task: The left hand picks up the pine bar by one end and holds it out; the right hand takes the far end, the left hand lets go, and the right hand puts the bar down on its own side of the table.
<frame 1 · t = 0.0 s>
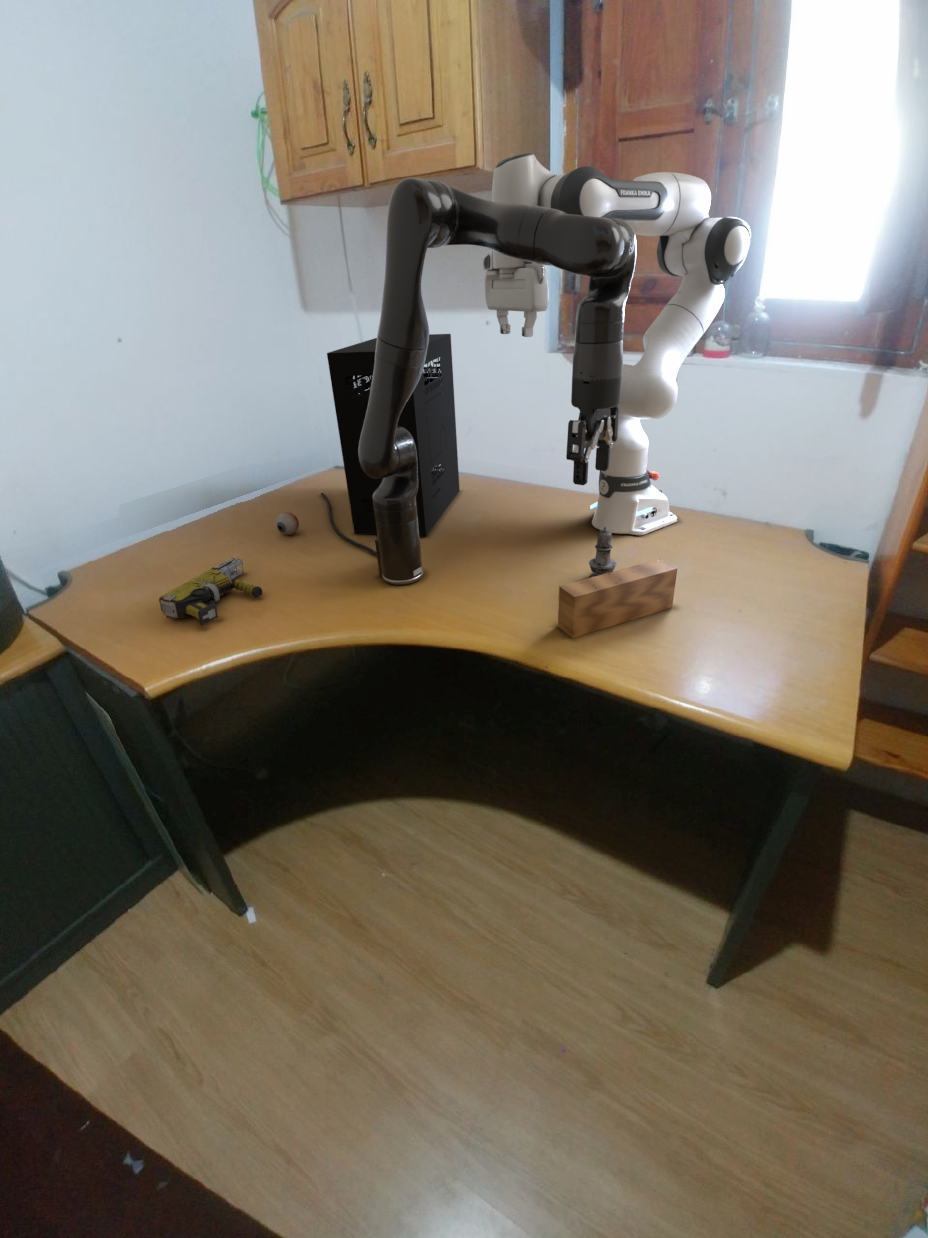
left hand: (591, 476, 101), 29 cm above the table, tool pointing down, fingers open, 8 cm apart
right hand: (516, 335, 125), 48 cm above the table, tool pointing down, fingers open, 8 cm apart
grey chess piece: (601, 578, 133), on the table
eyeball: (289, 534, 165), on the table
toy gun: (226, 599, 133), on the table
cardboard box: (411, 511, 176), on the table
bar: (615, 616, 118), on the table
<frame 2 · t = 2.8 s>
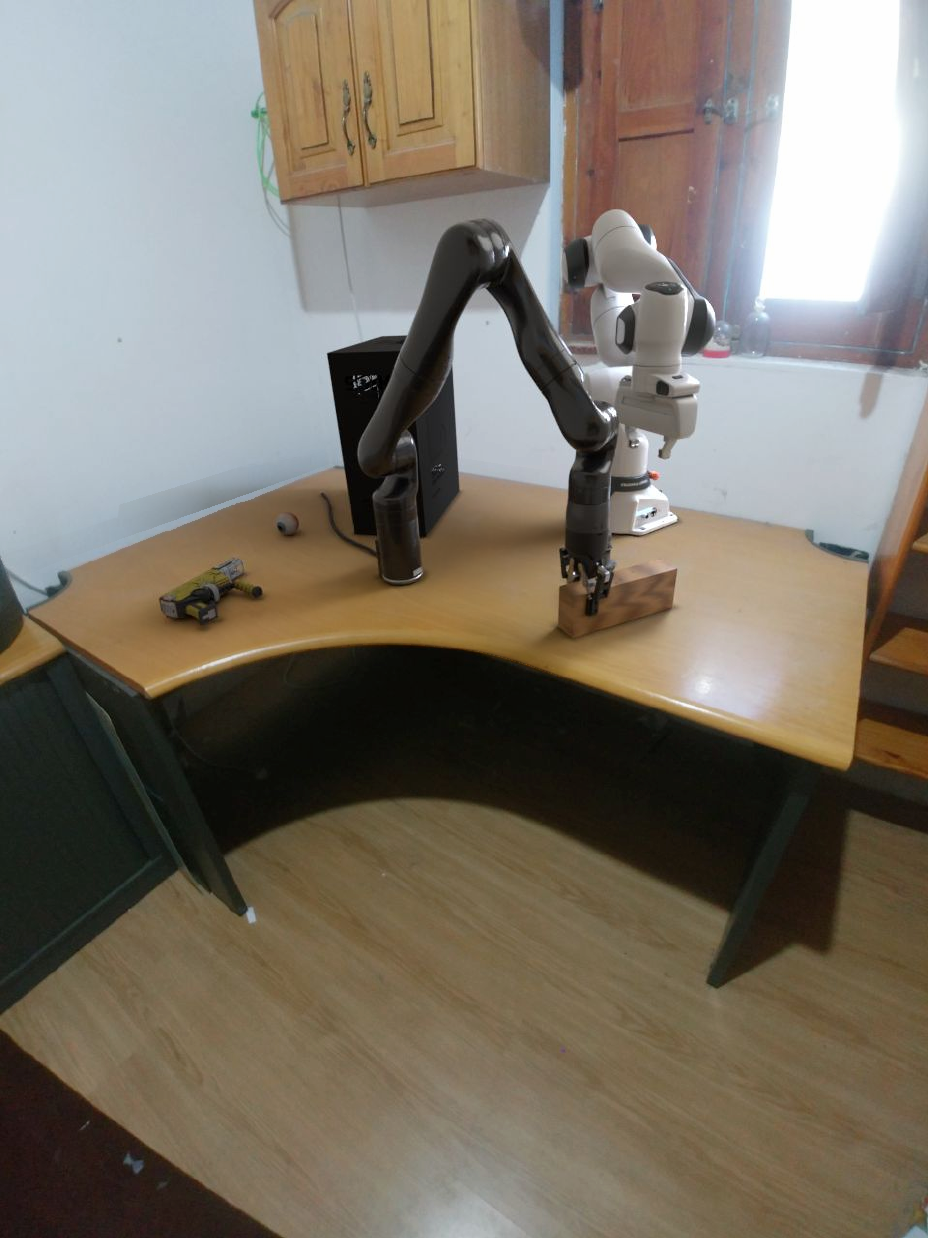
left hand: (582, 608, 113), 4 cm above the table, tool pointing down, fingers closed on bar, 5 cm apart
right hand: (647, 452, 121), 26 cm above the table, tool pointing down, fingers open, 8 cm apart
bar: (615, 616, 118), on the table, touching left hand
everything else where it was.
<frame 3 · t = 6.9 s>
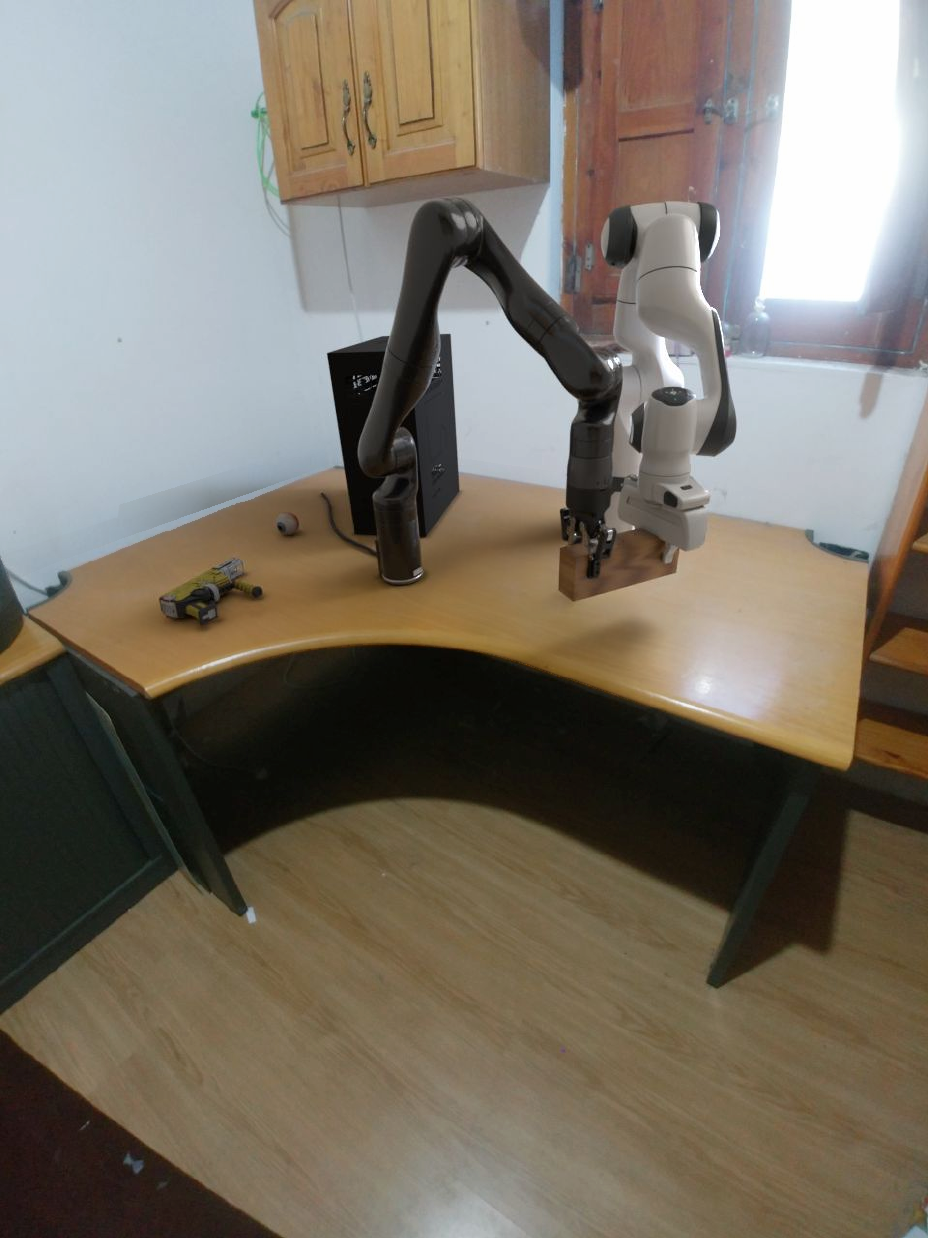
left hand: (584, 571, 109), 12 cm above the table, tool pointing down, fingers closed on bar, 5 cm apart
right hand: (654, 555, 115), 11 cm above the table, tool pointing down, fingers closed on bar, 5 cm apart
bar: (618, 581, 114), point 8 cm above the table, touching right hand, left hand
everything else where it was.
when the left hand's fingers open (12 cm above the table, at t = 7.9 s): bar stays where it is, held by the right hand.
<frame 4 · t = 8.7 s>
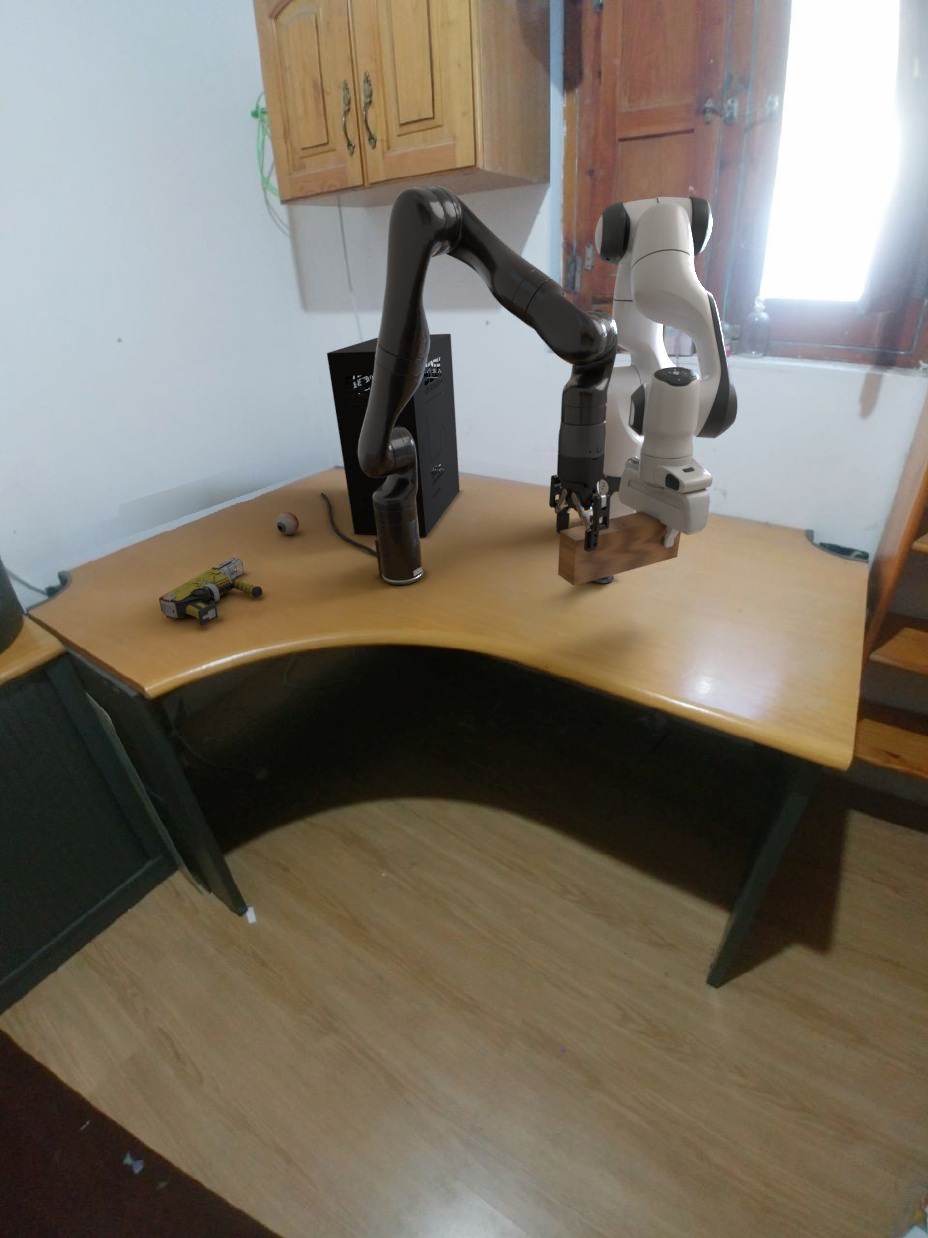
left hand: (576, 541, 106), 18 cm above the table, tool pointing down, fingers open, 8 cm apart
right hand: (655, 539, 114), 14 cm above the table, tool pointing down, fingers closed on bar, 5 cm apart
bar: (618, 565, 113), point 11 cm above the table, touching right hand
everything else where it was.
when the right hand's fingers open (5 cm above the table, at t = 16.4 s): bar stays where it is, on the table.
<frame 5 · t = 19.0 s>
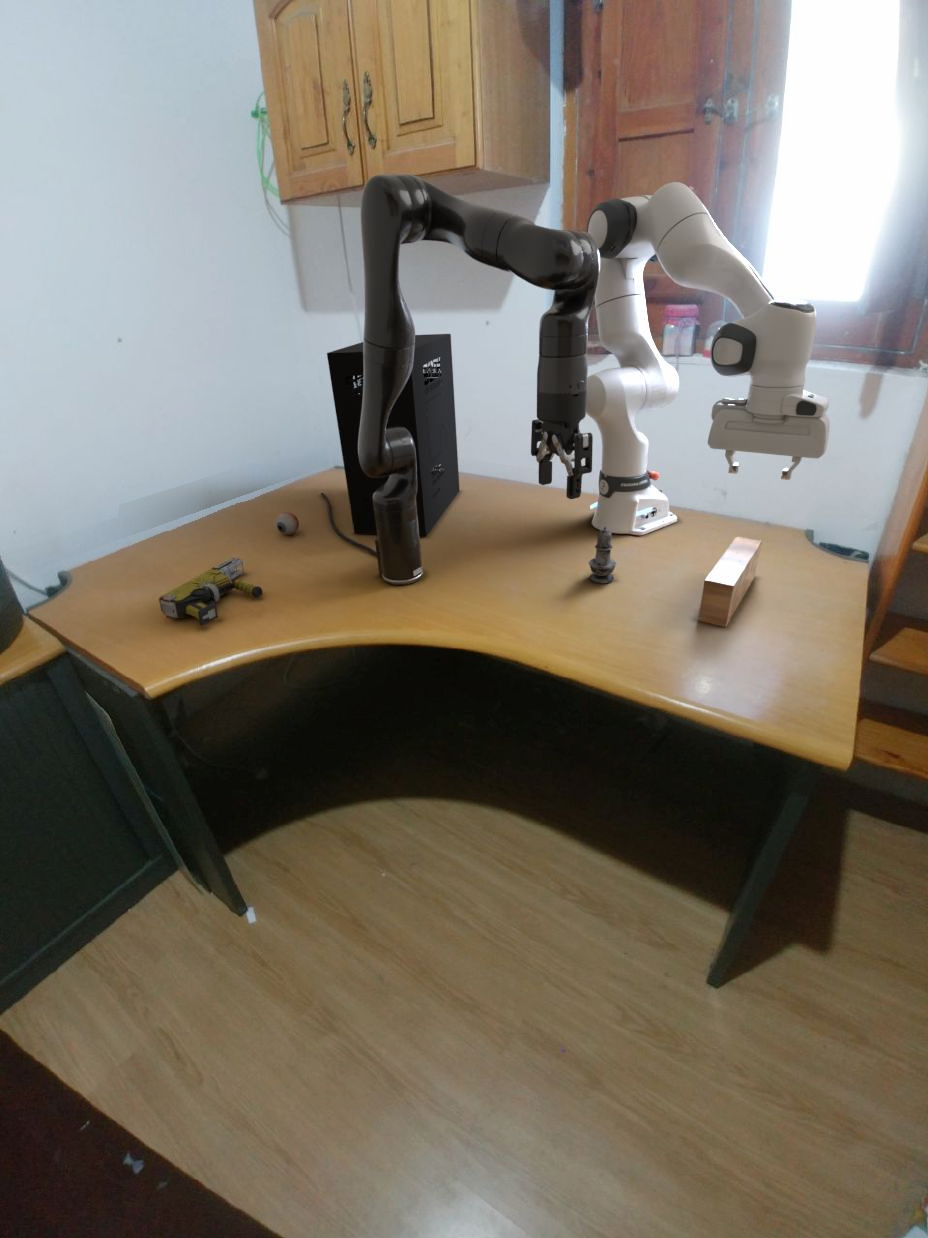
left hand: (558, 490, 99), 28 cm above the table, tool pointing down, fingers open, 8 cm apart
right hand: (758, 475, 116), 23 cm above the table, tool pointing down, fingers open, 8 cm apart
bar: (727, 598, 122), on the table
everything else where it was.
at the end: bar inside the target area (7.8 cm from its centre), on the table; the left hand is holding nothing; the right hand is holding nothing; bar at rest at the end (0.0 cm/s) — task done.
